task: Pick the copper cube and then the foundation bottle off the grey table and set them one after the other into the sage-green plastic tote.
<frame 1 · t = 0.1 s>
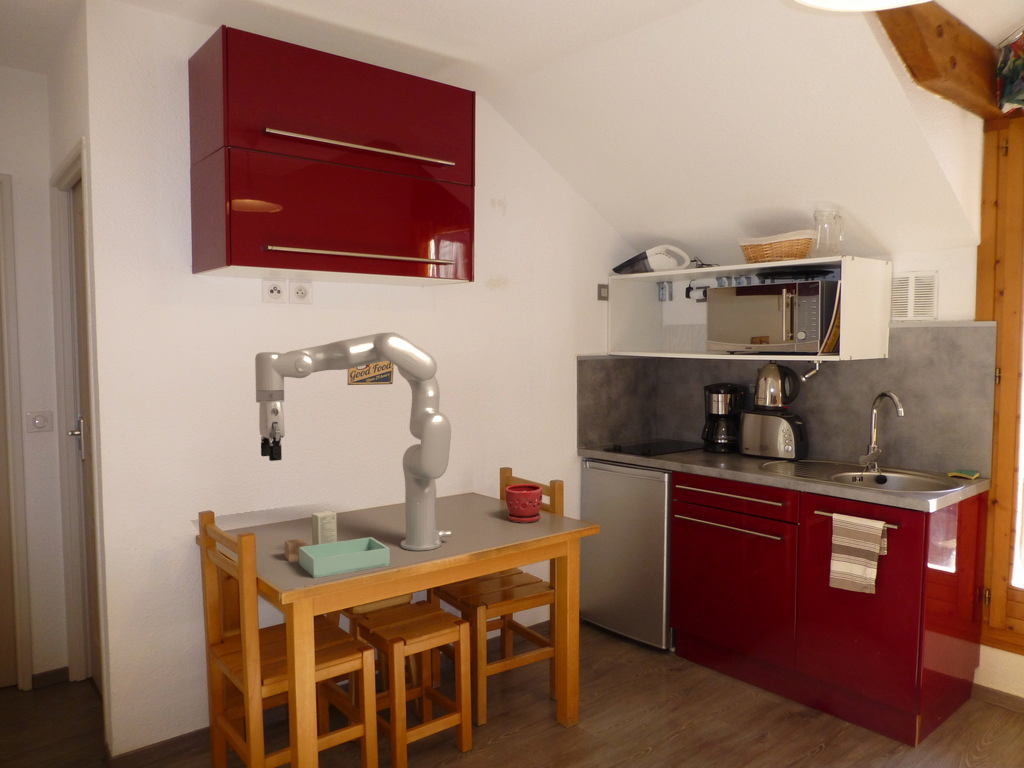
hand: (271, 458, 207), 31 cm above the table, fingers open, 9 cm apart
tote: (344, 565, 211), on the table
plant pot: (523, 521, 265), on the table
skincare box: (324, 553, 224), on the table
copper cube: (295, 558, 219), on the table
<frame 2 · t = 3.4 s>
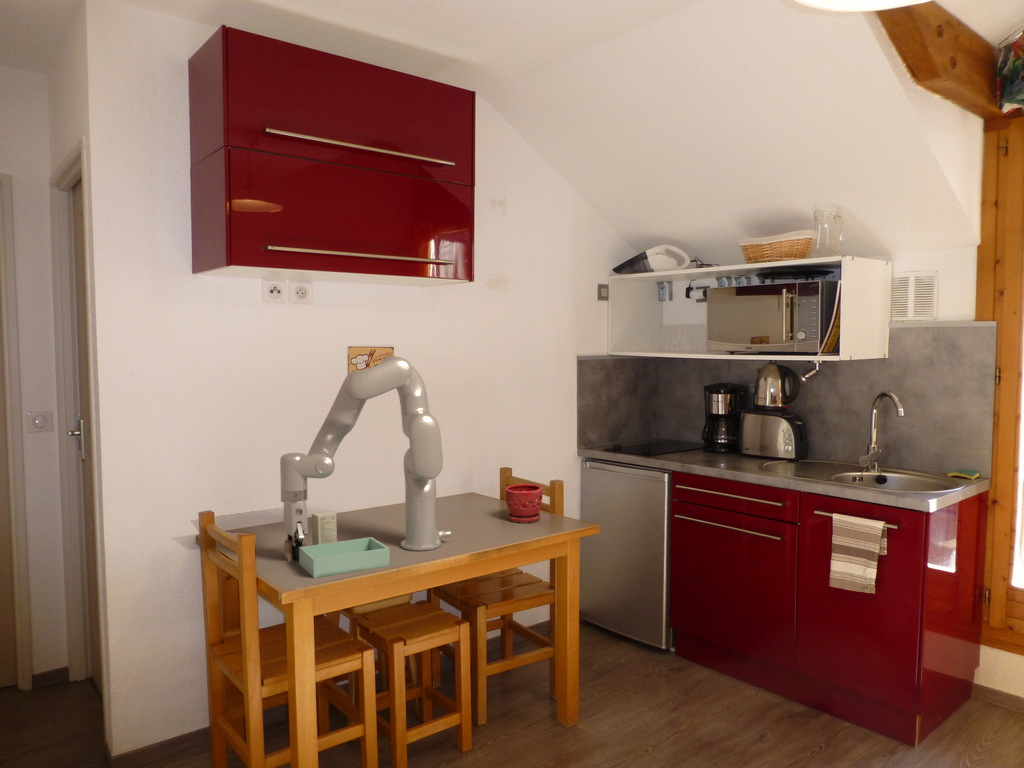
hand: (295, 556, 218), 1 cm above the table, fingers closed on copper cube, 5 cm apart
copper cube: (295, 558, 218), on the table, touching gripper
everything else where it was.
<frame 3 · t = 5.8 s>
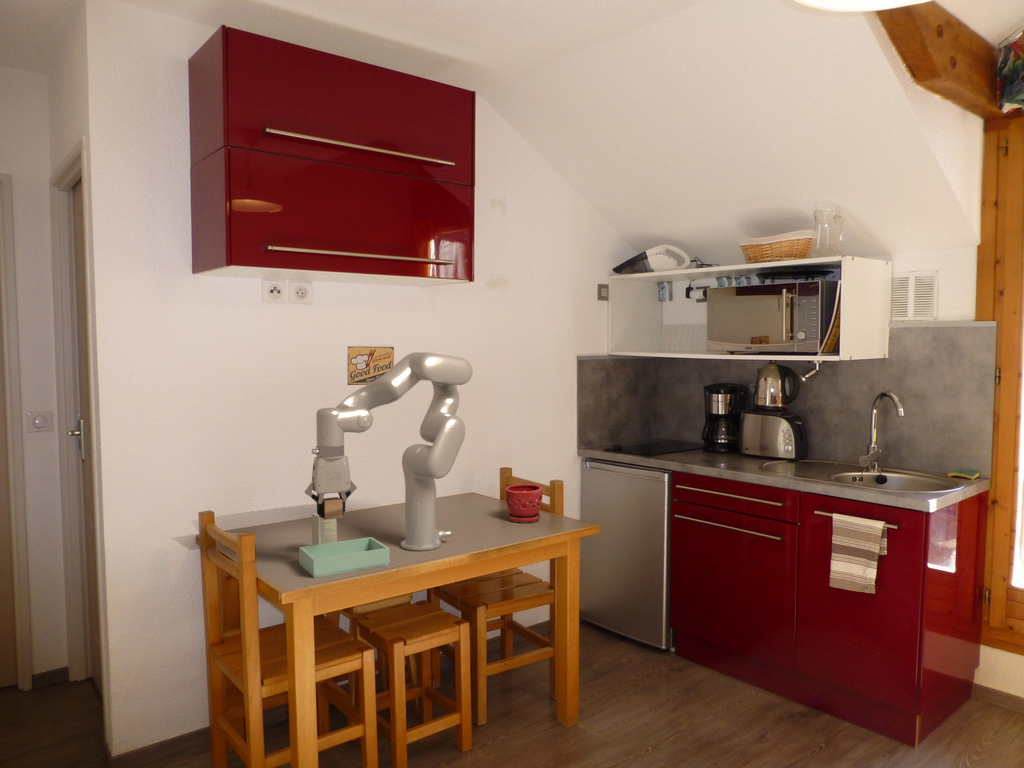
hand: (331, 515, 210), 14 cm above the table, fingers closed on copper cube, 5 cm apart
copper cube: (331, 517, 210), point 14 cm above the table, touching gripper
everything else where it was.
when the fingers open (2 cm above the table, at t = 8.3 s): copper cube stays where it is, resting on tote.
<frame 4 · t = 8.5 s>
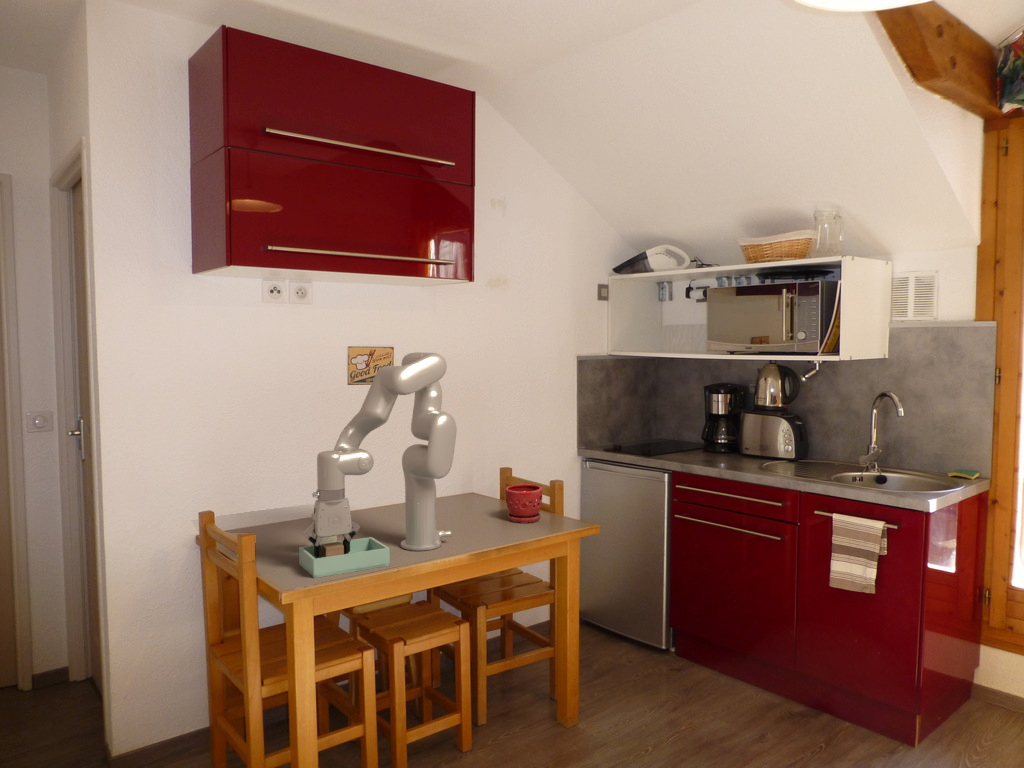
hand: (332, 556, 211), 3 cm above the table, fingers open, 7 cm apart
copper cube: (332, 562, 211), point 1 cm above the table, touching tote
everything else where it was.
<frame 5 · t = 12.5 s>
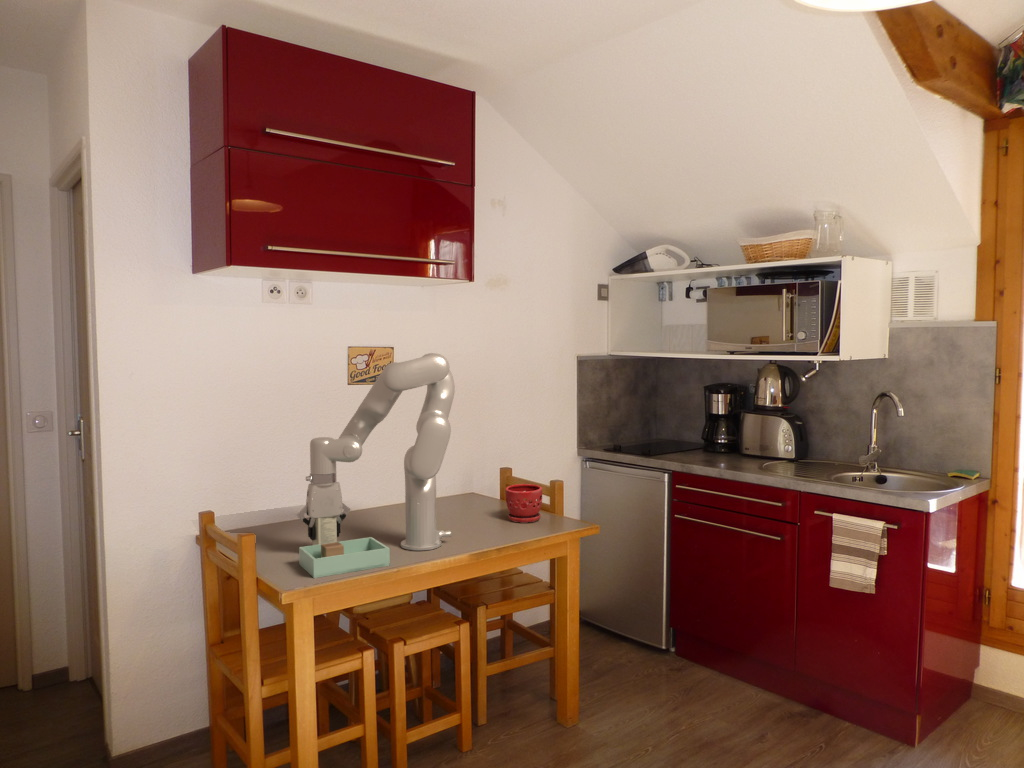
hand: (324, 537, 224), 5 cm above the table, fingers closed on skincare box, 6 cm apart
skincare box: (324, 553, 224), on the table, touching gripper
everything else where it was.
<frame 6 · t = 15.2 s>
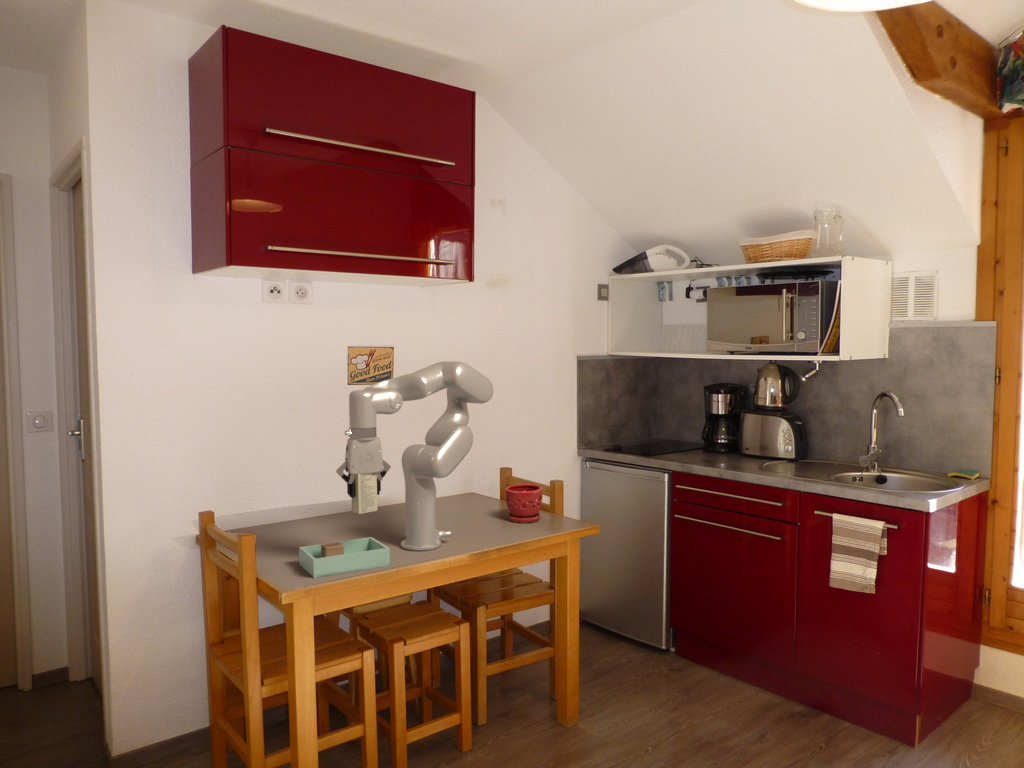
hand: (364, 495, 213), 19 cm above the table, fingers closed on skincare box, 6 cm apart
skincare box: (364, 512, 213), point 15 cm above the table, touching gripper
everything else where it was.
when the fingers open (7 cm above the table, at t = 18.1 s): skincare box drops 1 cm, resting on tote.
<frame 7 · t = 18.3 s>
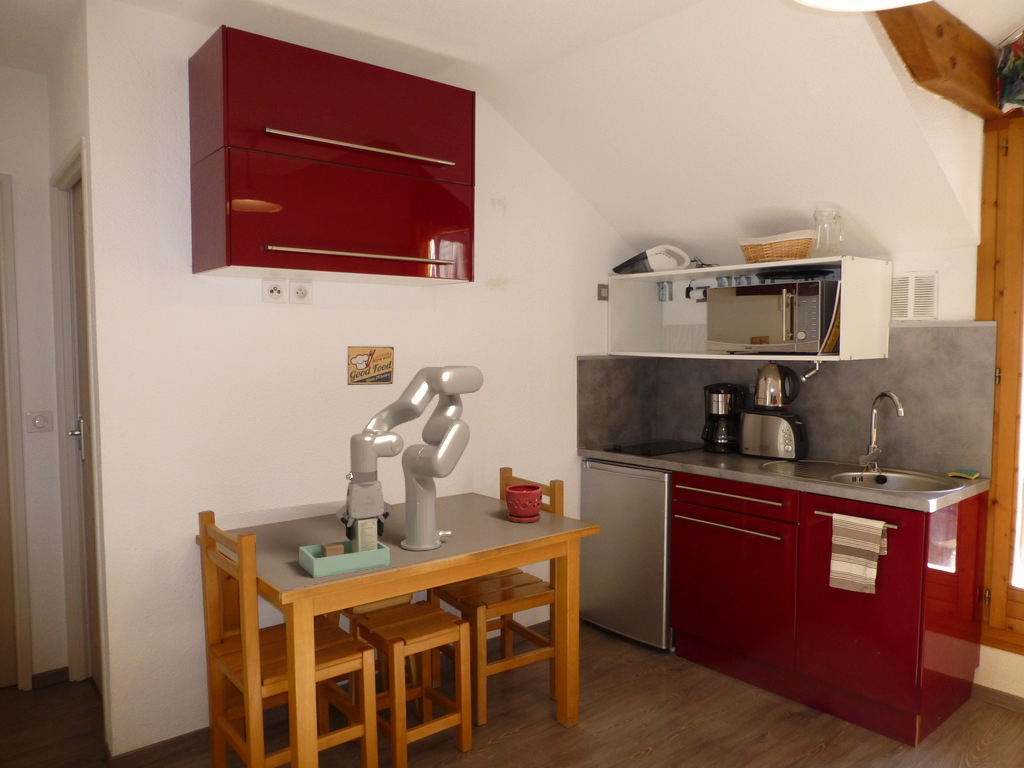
hand: (365, 537, 213), 7 cm above the table, fingers open, 8 cm apart
skincare box: (364, 560, 214), point 1 cm above the table, touching tote
everything else where it was.
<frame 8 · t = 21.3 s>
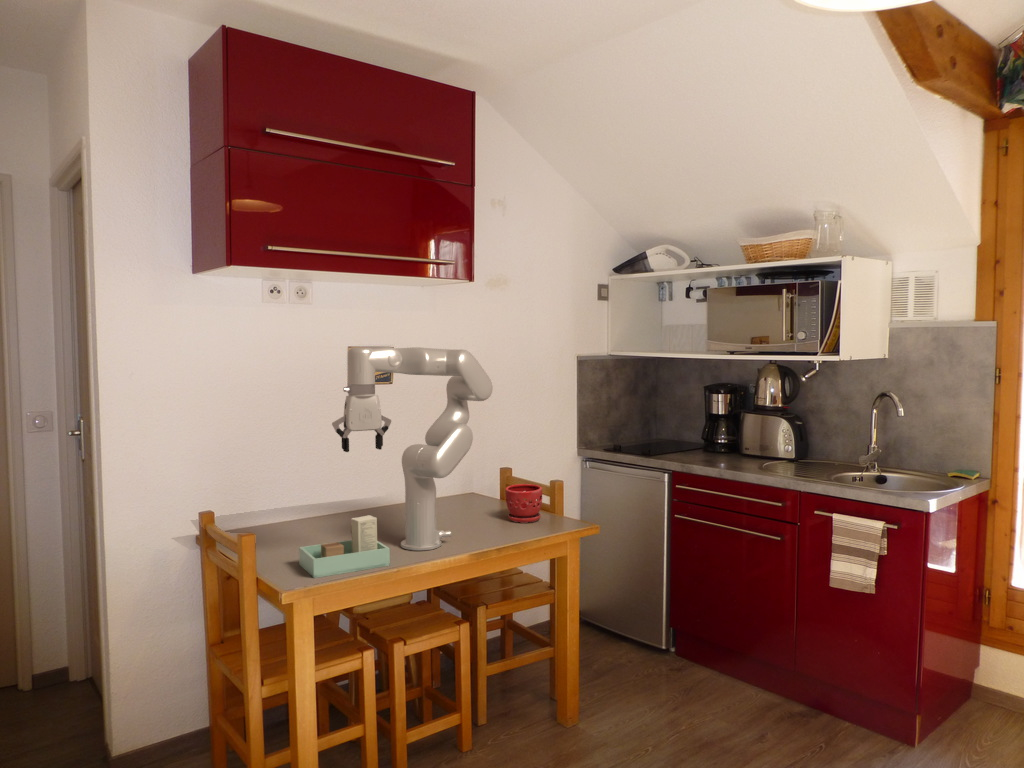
hand: (362, 450, 213), 32 cm above the table, fingers open, 9 cm apart
nothing on the table moved.
at the end: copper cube inside the target area on the tote (3.4 cm from its centre), point 0.8 cm above the tote's base; skincare box inside the target area on the tote (5.8 cm from its centre), point 0.6 cm above the tote's base; skincare box tilted 0° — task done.
